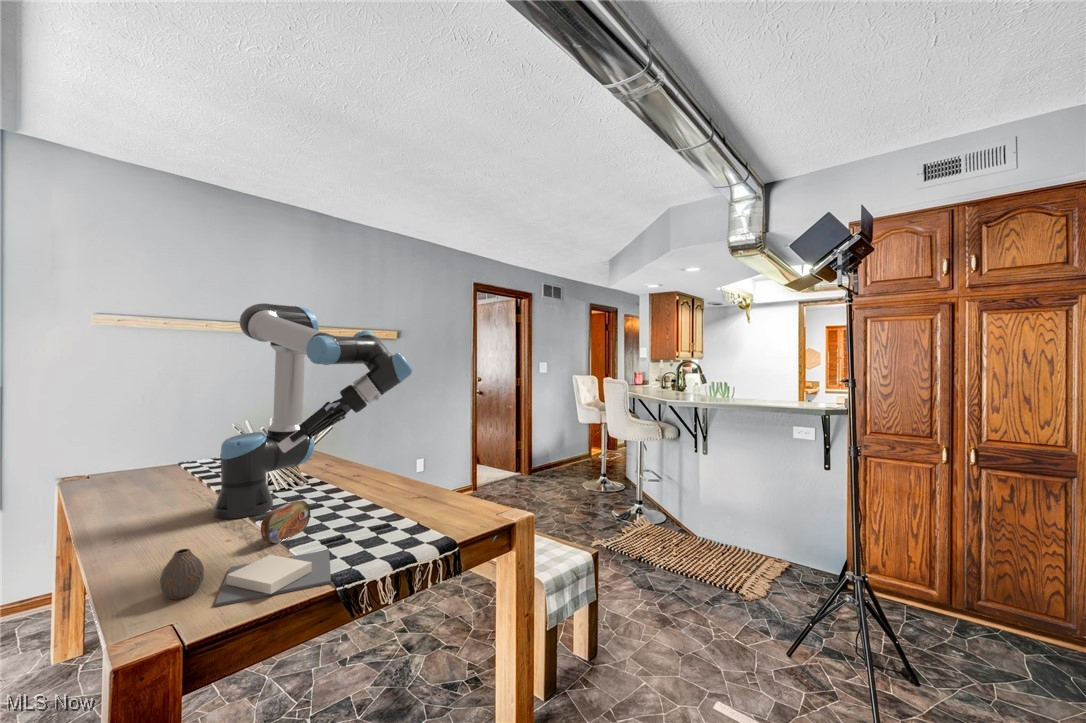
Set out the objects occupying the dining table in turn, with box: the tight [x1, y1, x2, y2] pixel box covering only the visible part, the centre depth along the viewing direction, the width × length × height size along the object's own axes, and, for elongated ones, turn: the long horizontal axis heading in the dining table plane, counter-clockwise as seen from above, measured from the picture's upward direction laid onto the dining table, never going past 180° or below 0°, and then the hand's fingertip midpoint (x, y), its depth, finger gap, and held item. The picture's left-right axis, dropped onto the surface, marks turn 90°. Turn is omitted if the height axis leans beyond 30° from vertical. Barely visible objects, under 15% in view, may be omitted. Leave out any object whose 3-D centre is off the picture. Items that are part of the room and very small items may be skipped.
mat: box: [214, 549, 332, 608], centre depth 98 cm, size 17×20×1 cm
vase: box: [159, 548, 205, 600], centre depth 91 cm, size 7×7×9 cm
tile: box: [226, 554, 312, 594], centre depth 96 cm, size 12×2×10 cm
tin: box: [260, 500, 311, 544], centre depth 120 cm, size 15×3×8 cm, turn 168°
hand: (281, 448), depth 119 cm, fingers closed
